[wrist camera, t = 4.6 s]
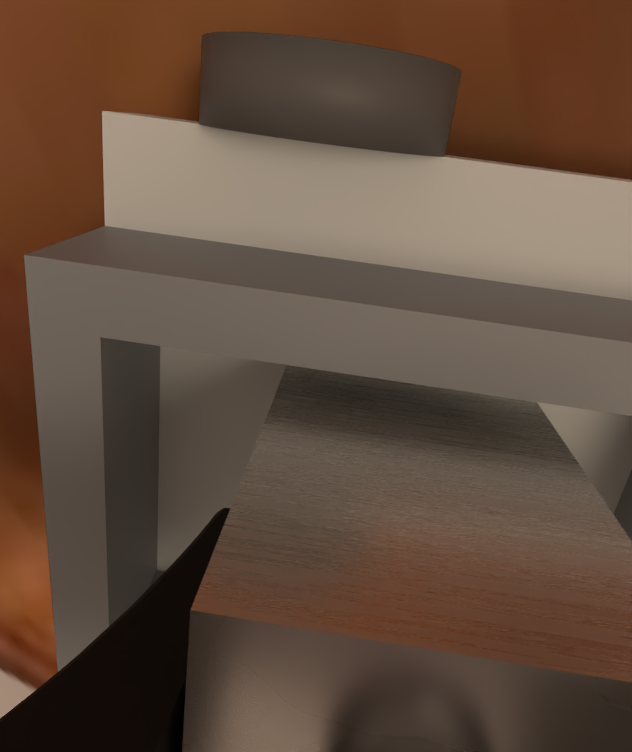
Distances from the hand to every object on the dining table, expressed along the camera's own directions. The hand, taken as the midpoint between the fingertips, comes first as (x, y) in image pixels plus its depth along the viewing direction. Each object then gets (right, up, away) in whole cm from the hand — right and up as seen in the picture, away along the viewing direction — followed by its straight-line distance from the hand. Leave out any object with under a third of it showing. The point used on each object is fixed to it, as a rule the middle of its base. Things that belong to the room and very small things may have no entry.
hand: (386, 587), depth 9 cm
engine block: (0, +1, +2) cm, 2 cm away
